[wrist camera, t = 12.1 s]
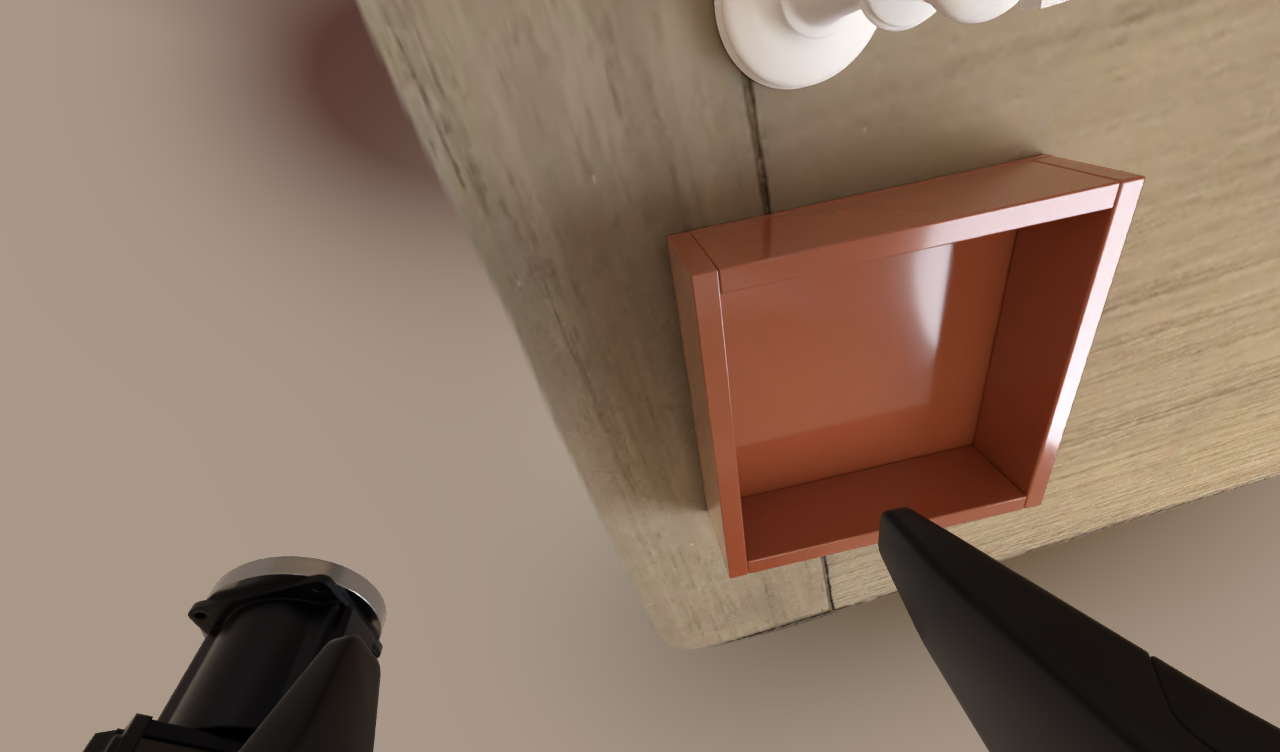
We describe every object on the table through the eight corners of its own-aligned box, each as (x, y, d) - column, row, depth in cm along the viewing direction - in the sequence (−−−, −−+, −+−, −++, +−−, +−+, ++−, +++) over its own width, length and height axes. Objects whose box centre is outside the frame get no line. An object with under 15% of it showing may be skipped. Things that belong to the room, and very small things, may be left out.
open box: (707, 512, 26) (729, 579, 22) (666, 235, 18) (690, 275, 15) (981, 449, 26) (1042, 505, 23) (1046, 153, 19) (1148, 175, 16)
